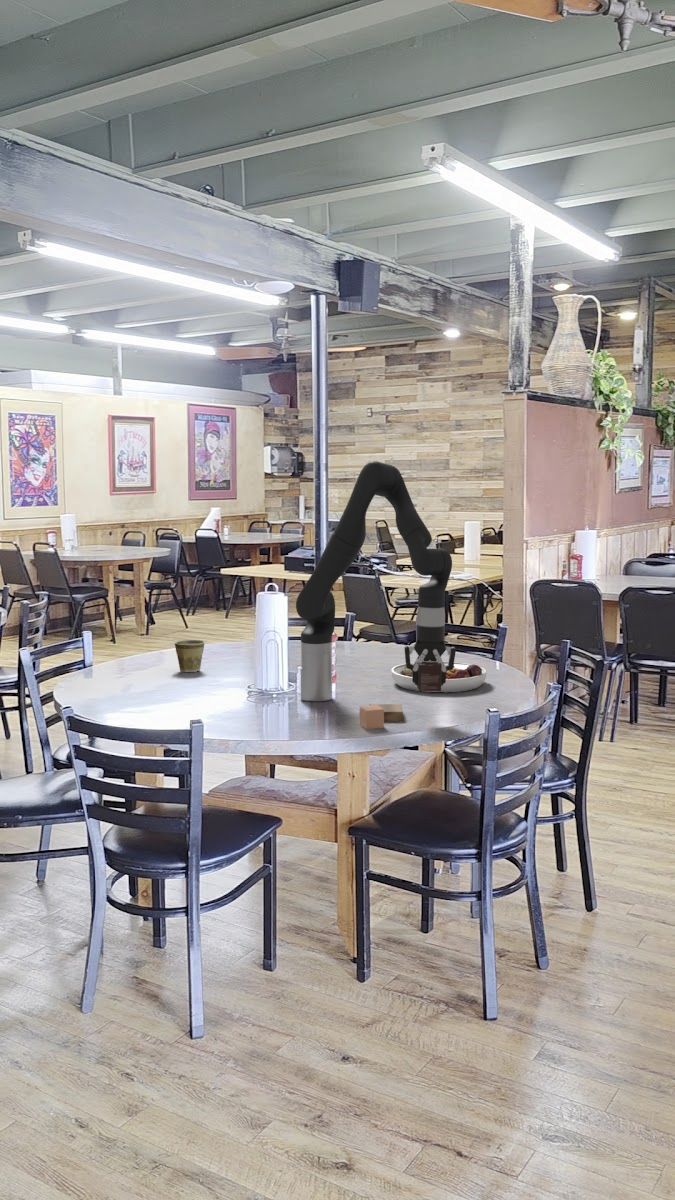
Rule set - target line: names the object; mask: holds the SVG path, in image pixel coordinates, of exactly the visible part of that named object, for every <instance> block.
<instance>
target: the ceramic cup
mask: <svg viewBox="0 0 675 1200" xmlns="http://www.w3.org/2000/svg"><path fill="white" fill-rule="evenodd" d="M174 648H175V653H176V656H177V660H178V661H177V662H178V666H179V670H180V672H181V671H182V672H181V673H183V672H195V673H198V672H197V671H199V670H201V668H202V660H203V653H204V649H205V641H203V640H197V639H184V640H183V639H182V640H178V641H175V642H174ZM199 672H200V671H199Z"/></svg>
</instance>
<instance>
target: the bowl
mask: <svg viewBox="0 0 675 1200" xmlns="http://www.w3.org/2000/svg"><path fill="white" fill-rule="evenodd" d="M448 662H449V661H443V663H444V665H445V666H446V665H448ZM414 663H415V661H414V662H410V664H412V665H414ZM391 678H392V680H393V682H394V683H395V684H396V685H397V686H399V687H401V688H403V689H404V690H405V689H406V690H410V691H413V690H414V691H413V692H420V691H419V690H418V688H417V685H415V683H413V681H412V670H411V669H407V668H406V663H402V664H398V665H395V666H394V667H392V668H391ZM486 678H487V670H486V668H483V667H481V666H479V665H477V664H470V663H463V662H455V661H454V666H453V669H452V670H448V671H447V672H446V682H445V684H444V683H443V686H441V691H422V692H421V693H430V692H453V693H462V692H461V691H463V692H467V691H468V690H469V691H472V689H473V690H475V689H477V688H479V687H481V686H482V685H483V683H484V682H485V681H486Z"/></svg>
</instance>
